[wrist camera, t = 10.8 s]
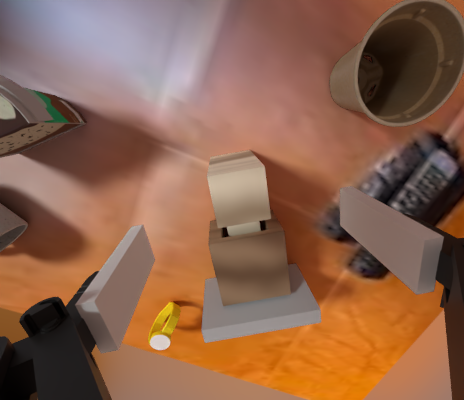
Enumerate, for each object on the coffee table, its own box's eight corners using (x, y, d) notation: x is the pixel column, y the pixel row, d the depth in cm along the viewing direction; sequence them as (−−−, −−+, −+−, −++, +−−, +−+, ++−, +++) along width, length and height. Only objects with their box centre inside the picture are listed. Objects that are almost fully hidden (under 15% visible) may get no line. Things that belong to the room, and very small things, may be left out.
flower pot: (308, 122, 29) (344, 124, 20) (321, 30, 25) (369, -10, 17) (382, 124, 29) (445, 128, 21) (403, 35, 26) (488, -1, 18)
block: (210, 221, 32) (208, 244, 26) (272, 210, 32) (284, 231, 26) (222, 274, 35) (223, 306, 29) (278, 264, 35) (290, 294, 29)
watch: (171, 292, 37) (165, 322, 31) (186, 301, 37) (182, 331, 32) (149, 318, 37) (138, 351, 32) (163, 326, 38) (156, 360, 33)
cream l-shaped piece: (210, 156, 29) (206, 176, 20) (249, 149, 29) (264, 166, 20) (232, 262, 35) (237, 317, 26) (265, 256, 35) (282, 309, 25)
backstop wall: (205, 279, 36) (201, 330, 27) (296, 263, 36) (320, 309, 27) (208, 289, 36) (205, 342, 28) (297, 273, 36) (321, 322, 28)
